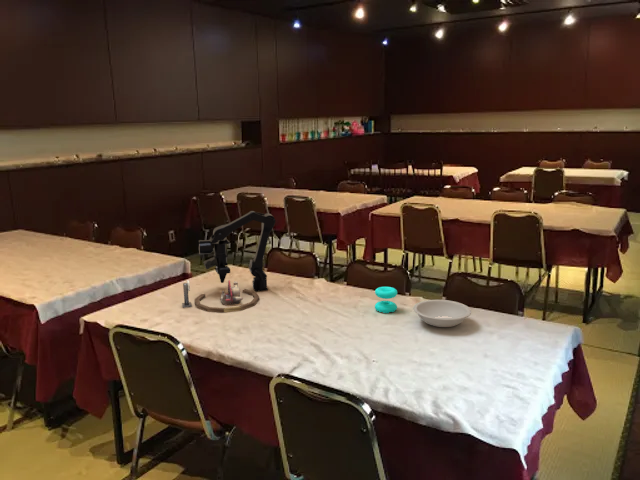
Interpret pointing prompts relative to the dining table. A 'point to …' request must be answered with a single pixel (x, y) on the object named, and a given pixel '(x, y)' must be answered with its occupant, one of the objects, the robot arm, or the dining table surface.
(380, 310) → the donuts
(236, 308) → the bent brown bar
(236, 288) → the brake caliper
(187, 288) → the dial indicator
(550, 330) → the dining table surface
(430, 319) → the soup bowl
